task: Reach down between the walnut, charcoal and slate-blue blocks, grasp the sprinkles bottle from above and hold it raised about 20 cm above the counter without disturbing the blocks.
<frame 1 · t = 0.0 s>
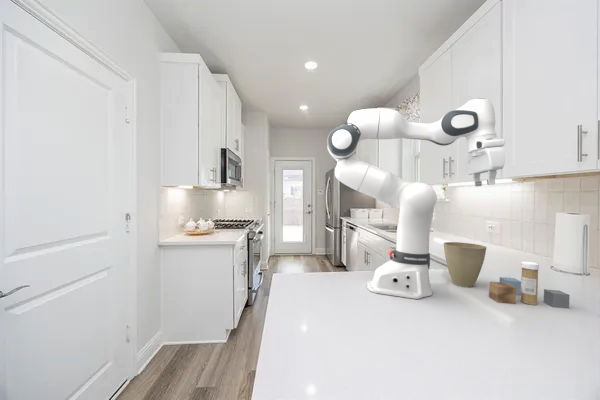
hand: (484, 185, 99), 39 cm above the countertop, tool pointing down, fingers open, 8 cm apart
walnut block: (501, 300, 96), on the countertop
charcoal block: (555, 305, 93), on the countertop
sprinkles bottle: (528, 303, 94), on the countertop
plant pot: (462, 285, 113), on the countertop
slate blue block: (510, 292, 105), on the countertop
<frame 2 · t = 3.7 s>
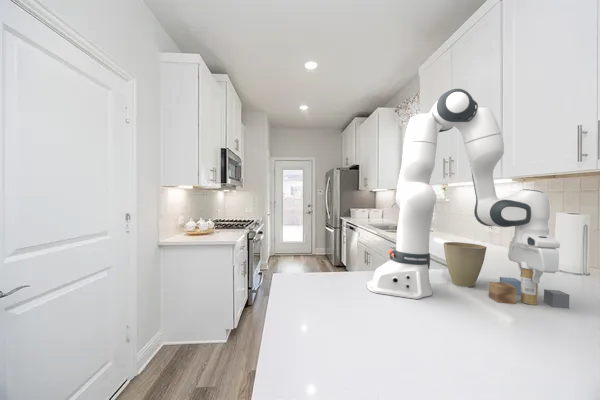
hand: (529, 280, 94), 8 cm above the countertop, tool pointing down, fingers closed on sprinkles bottle, 4 cm apart
sprinkles bottle: (528, 303, 94), on the countertop, touching gripper
everything else where it was.
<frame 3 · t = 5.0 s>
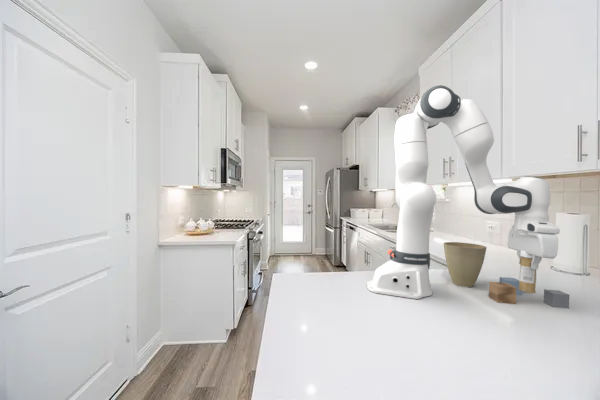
hand: (528, 266, 94), 12 cm above the countertop, tool pointing down, fingers closed on sprinkles bottle, 4 cm apart
sprinkles bottle: (526, 292, 94), point 3 cm above the countertop, touching gripper
everything else where it was.
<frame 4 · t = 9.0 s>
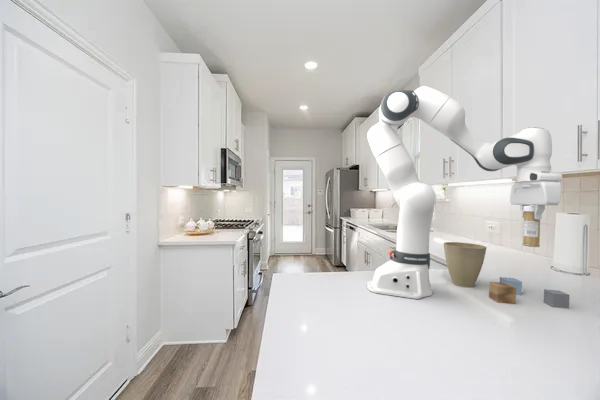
hand: (531, 218, 94), 28 cm above the countertop, tool pointing down, fingers closed on sprinkles bottle, 4 cm apart
sprinkles bottle: (530, 246, 94), point 19 cm above the countertop, touching gripper
everything else where it was.
at the end: the gripper is holding sprinkles bottle; sprinkles bottle point 18.7 cm above the countertop; slate blue block moved 0.1 cm from its start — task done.
